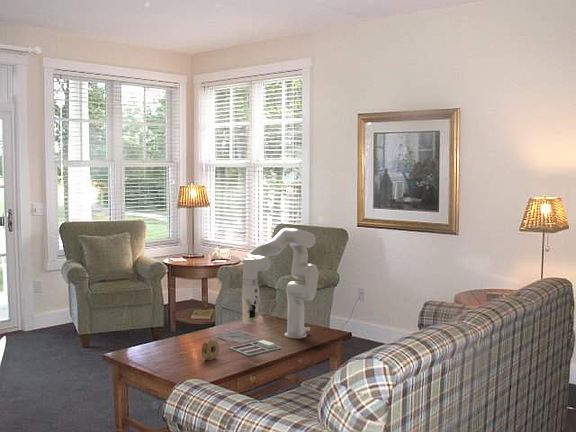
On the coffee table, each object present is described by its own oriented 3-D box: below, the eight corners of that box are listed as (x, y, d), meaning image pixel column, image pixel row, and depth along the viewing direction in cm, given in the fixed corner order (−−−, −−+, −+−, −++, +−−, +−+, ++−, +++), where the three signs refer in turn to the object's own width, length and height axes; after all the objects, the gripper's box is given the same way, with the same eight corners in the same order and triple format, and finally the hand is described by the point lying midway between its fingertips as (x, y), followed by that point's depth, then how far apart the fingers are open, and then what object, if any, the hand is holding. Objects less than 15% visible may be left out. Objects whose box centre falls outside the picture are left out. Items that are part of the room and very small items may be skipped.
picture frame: (216, 338, 354) (240, 346, 339) (216, 334, 354) (240, 342, 339) (238, 333, 366) (263, 341, 350) (238, 329, 366) (263, 336, 350)
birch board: (254, 320, 329) (254, 298, 328) (258, 322, 327) (258, 299, 326) (242, 323, 324) (242, 300, 323) (245, 324, 322) (245, 301, 321)
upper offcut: (263, 343, 338) (263, 339, 338) (274, 347, 332) (274, 343, 332) (257, 345, 335) (257, 341, 335) (268, 348, 329) (268, 345, 329)
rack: (261, 343, 343) (261, 340, 342) (281, 351, 330) (281, 347, 330) (228, 351, 328) (228, 347, 328) (248, 359, 316) (248, 355, 315)
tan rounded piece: (206, 362, 309) (206, 342, 308) (200, 361, 311) (200, 341, 311) (220, 357, 317) (220, 338, 317) (215, 356, 320) (215, 336, 319)
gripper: (265, 283, 320) (265, 318, 321) (246, 278, 332) (246, 312, 334) (254, 285, 315) (254, 321, 316) (234, 280, 327) (234, 314, 329)
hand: (250, 316), depth 325 cm, fingers closed on birch board, 3 cm apart
